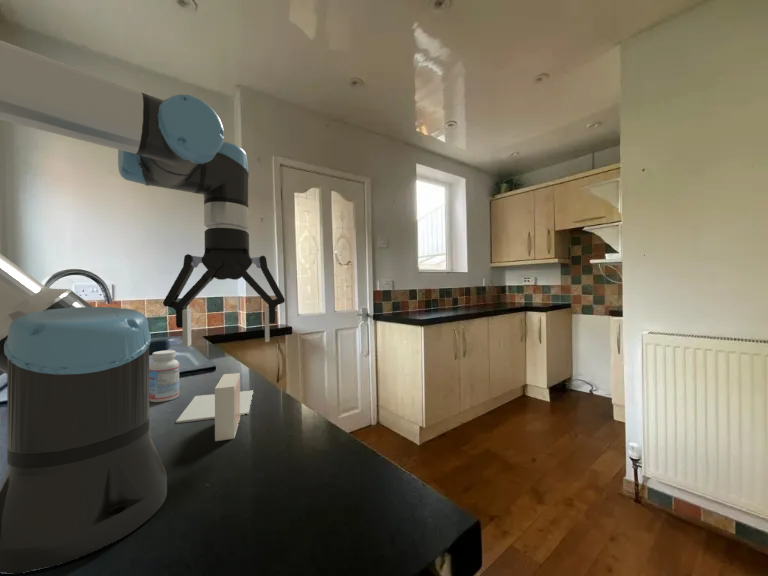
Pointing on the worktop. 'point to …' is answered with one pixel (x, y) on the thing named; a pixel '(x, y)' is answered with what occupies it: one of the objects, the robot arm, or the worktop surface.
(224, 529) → the worktop surface
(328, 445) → the worktop surface
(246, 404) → the mat
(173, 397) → the pill bottle
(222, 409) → the cream rectangular block
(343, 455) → the worktop surface
